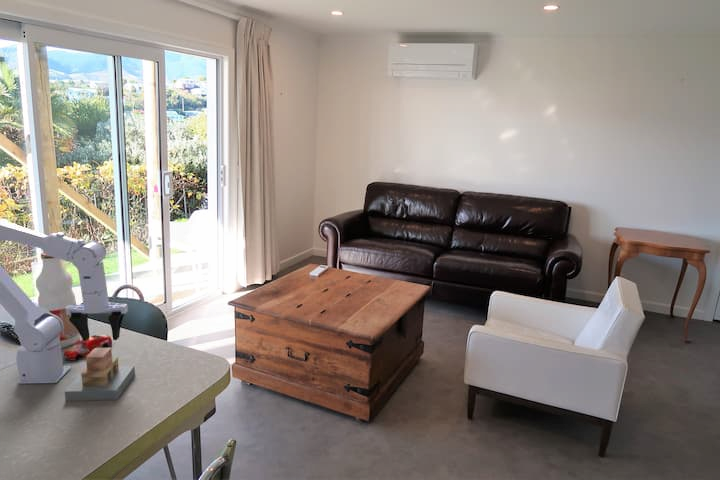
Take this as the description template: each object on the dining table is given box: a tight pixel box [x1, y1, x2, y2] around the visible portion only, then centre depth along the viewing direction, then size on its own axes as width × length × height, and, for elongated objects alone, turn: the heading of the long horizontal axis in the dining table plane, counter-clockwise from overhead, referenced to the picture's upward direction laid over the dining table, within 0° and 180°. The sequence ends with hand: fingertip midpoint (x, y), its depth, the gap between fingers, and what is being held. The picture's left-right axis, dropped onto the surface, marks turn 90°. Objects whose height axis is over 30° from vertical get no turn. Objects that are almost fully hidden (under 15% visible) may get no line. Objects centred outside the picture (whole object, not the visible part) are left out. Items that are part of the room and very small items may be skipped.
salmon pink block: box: [85, 347, 113, 370], centre depth 123 cm, size 4×5×4 cm
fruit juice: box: [35, 251, 81, 349], centre depth 144 cm, size 9×9×28 cm
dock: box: [64, 365, 136, 402], centre depth 124 cm, size 12×12×2 cm
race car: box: [63, 334, 113, 361], centre depth 142 cm, size 13×5×4 cm, turn 148°
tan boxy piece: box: [80, 356, 120, 386], centre depth 123 cm, size 6×8×4 cm
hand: (101, 339), depth 127 cm, fingers open, 7 cm apart
